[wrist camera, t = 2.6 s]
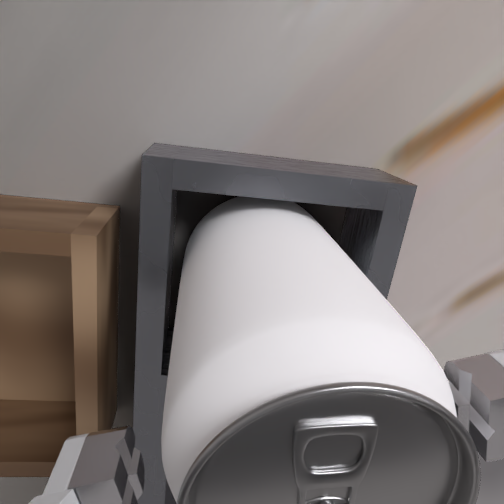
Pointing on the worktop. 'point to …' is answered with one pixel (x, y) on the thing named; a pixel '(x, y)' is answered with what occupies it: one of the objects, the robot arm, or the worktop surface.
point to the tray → (247, 185)
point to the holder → (55, 327)
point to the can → (301, 376)
